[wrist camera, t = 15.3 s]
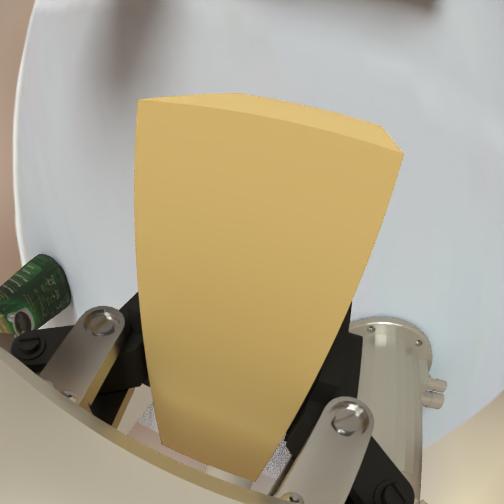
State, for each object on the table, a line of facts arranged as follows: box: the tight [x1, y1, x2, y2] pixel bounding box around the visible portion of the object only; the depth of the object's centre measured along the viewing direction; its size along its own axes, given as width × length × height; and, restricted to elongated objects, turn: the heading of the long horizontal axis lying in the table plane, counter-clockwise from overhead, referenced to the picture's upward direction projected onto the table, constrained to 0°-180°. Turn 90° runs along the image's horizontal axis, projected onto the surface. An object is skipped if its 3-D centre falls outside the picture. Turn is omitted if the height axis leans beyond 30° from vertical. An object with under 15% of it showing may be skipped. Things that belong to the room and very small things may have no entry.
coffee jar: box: [0, 254, 71, 337], centre depth 37 cm, size 10×8×19 cm
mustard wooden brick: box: [134, 93, 404, 482], centre depth 9 cm, size 4×12×4 cm, turn 171°
